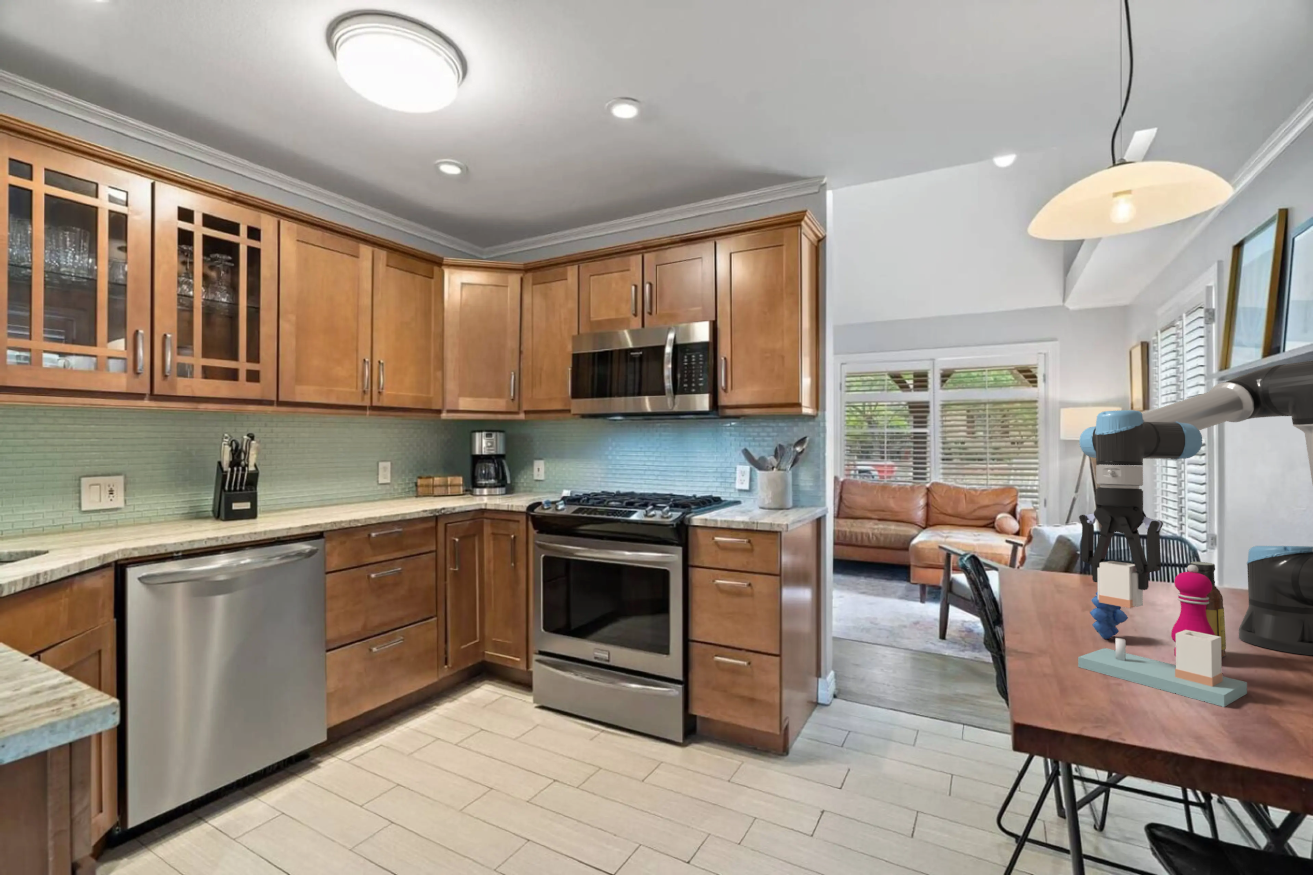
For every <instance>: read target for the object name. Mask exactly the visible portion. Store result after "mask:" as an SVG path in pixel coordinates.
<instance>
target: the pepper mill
mask: <svg viewBox="0 0 1313 875" xmlns="http://www.w3.org/2000/svg"><path fill="white" fill-rule="evenodd" d="M1197 572H1198V567H1197V566H1195V565H1190V564H1188V566H1187V571H1183V572H1180V573H1178V574H1177V575H1176V576H1175V578H1174V582H1173V583H1174V587H1175V588H1176V589H1177V590H1178V592H1179V593H1177V600H1178V601H1179V602H1180V613H1179V616H1178V618H1177V620H1176V622H1175V623H1174V624H1173V627H1172V630H1171V633H1170V638H1171V640H1172V641H1173V642H1174V643H1175V644H1176V633H1178V632H1181V631H1184V630H1190V631H1195V632H1200V633H1205V634H1210V635H1215V633H1214V631H1213V629H1212V628H1211V626H1210V624H1209V622H1208V620H1207V616H1206V605H1207V604H1209V602H1208V601H1209V600H1208V599H1209V597H1207V595H1208V594H1209V593H1210V592H1211V590H1212V583H1211V581H1210V579H1209V578H1208V577H1206V576H1205V575H1203V574H1200V573H1197ZM1173 650H1174V656H1175V658H1176V646H1175V647H1174V649H1173Z"/></svg>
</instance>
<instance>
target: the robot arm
mask: <svg viewBox="0 0 1313 875" xmlns="http://www.w3.org/2000/svg"><path fill="white" fill-rule="evenodd" d="M1272 417H1291V421H1292V422H1291V423H1292V426H1293V427H1295V428H1296V429H1298V430H1300V431H1302V432H1303V433H1304V438H1305V445H1306V451H1307V457H1308V458H1307V459H1308V463H1309V470H1310V475H1311V477H1310V478H1311V483H1312V485H1313V360H1306V361H1299V362H1293V363H1285V364H1275V365H1271V366H1267V367H1264V368H1260V369H1258V370H1254V371H1251V372H1248V373H1246V374H1243V375H1240V376H1237V377H1234V378H1231V379H1229V380H1226V381H1223V382H1220V383H1217V384H1215V385H1214V386H1213V387H1211V389H1210V390H1209V391H1206V392H1203V393H1201V394H1198V395H1195V396H1192V397H1189V398H1188V397H1187V398H1186V399H1182V400H1179V401H1177V402H1174V403H1171V404H1168V405H1163V406H1162V407H1159V408H1156V409H1152V410H1150V411H1147V412H1143V413H1142V412H1141V411H1139V410H1132V409H1131V410H1128V409H1126V410H1125V409H1124V410H1123V409H1121V410H1119V409H1117V410H1105V411H1101V412H1099V413H1098V414H1097V416H1096V420H1095V421H1096V422H1095V426H1090V427H1087V428H1085V429H1084V430H1083V431H1082V433H1081V434H1080V437H1079V441H1078V442H1079V447H1080V450H1081V451H1082V453H1083V454H1084V455H1085V456H1087V457H1089V458H1094V459H1095V461H1096V462H1095V463H1096V465H1095V467H1096V468H1095V469H1096V470H1095V473H1096V474H1095V476H1096V477H1095V478H1096V479H1095V481H1096V482H1095V483H1096V484H1097V485H1099V487H1097V488H1096V489H1095V502H1096V507H1095V510H1094V511H1093V513H1089V514H1080V515H1079V516H1078V518H1079V522H1080V525H1081V562H1083V563H1086V564H1089V565H1090V566H1091V568H1092V570H1091V571H1092V573H1091V574H1092V576H1091V577H1092V582H1093V583H1097V591H1098V600H1099V595H1100V563H1101V562H1105V561H1106V557H1107V553H1108V552H1109V547H1110V544H1111V541H1112V538H1113V537H1114V535H1115V533H1119V534H1124V537H1125V539H1126V542H1127V544H1128V548H1129V550H1130V553H1131V556H1132V559H1133V562H1134V563H1133V564H1135V566H1136V569H1137V571H1136V572H1134V573H1132V600H1133V606H1135V607H1136V608H1138V607H1142V606H1144V597H1143V596H1144V595H1143V594H1144V593H1143V591H1146V590H1148V589H1149V584H1150V583H1149V575H1150V573H1155V572H1159V571H1161V568H1162V565H1161V564H1162V563H1161V538H1160V536H1161V531H1162V528H1163V526H1164V522H1163V521H1162V520H1160V519H1159V520H1155V519H1153V518H1150V517H1147V515H1146V514H1145V511H1144V490H1142V488H1140V487H1142V486H1144V460H1145V459H1146V460H1147V459H1150V460H1151V459H1152V460H1153V459H1154V460H1155V459H1157V460H1159V459H1161V460H1162V459H1164V460H1165V459H1167V460H1177V461H1178V460H1180V459H1181V460H1182V459H1184V460H1185V459H1189V458H1193V457H1194V456H1196V455H1197V454H1198V453H1199V452H1200V451H1201V448H1202V446H1203V436H1202V433H1201V430H1202V431H1203V430H1204V429H1208V428H1211V427H1214V426H1217V425H1220V424H1223V423H1225V422H1228V423H1239V422H1243V421H1246V420H1250V419H1258V418H1272ZM1096 521H1097V522H1098V523H1099V524H1100V526H1101V528H1100V531H1099V538H1098V541H1097V544H1096V547H1095V548H1094V546H1095V542H1094V541H1095V540H1094V539H1095V525H1094V524H1095V523H1096ZM1143 524H1144V527H1145V529H1146V543H1147V544H1146V545H1147V546H1146V547H1147V559H1146V555H1145V552H1144V548H1143V546H1142V542H1141V539H1140V533H1139V530H1138V529H1139V527H1141V526H1142V525H1143ZM1094 549H1095V550H1094ZM1246 565H1247V567H1246V568H1247V587H1248V588H1247V589H1248V590H1247V593H1248V595H1247V596H1248V608H1247V610H1246V612H1245V614H1244V616H1243V618H1242V620H1241V623H1240V625H1239V628H1238V639H1239V640H1241V641H1242V642H1245V643H1247V644H1250V645H1254V646H1258V647H1261V648H1265V649H1270V650H1275V651H1280V652H1285V653H1290V654H1298V655H1306V656H1313V546H1312V545H1310V546H1308V545H1305V546H1304V545H1302V546H1301V545H1255V546H1252V547H1250V548H1249V550H1248V554H1247V562H1246ZM1135 607H1134V608H1135Z"/></svg>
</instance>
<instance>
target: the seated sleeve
mask: <svg viewBox="0 0 1313 875" xmlns="http://www.w3.org/2000/svg"><path fill="white" fill-rule="evenodd" d="M1175 647H1176V657H1175V665H1176V669H1175V677H1177V678H1181V679H1185V680H1189V681H1192V682H1196V683H1200V684H1204V685H1208V686H1212V687H1213V686H1215V685H1216V684H1218V683H1220V682H1222V681H1223V677H1224V676H1223V675H1224V674H1223V672H1222V657H1221V637H1220V636H1215V635H1210V634H1205V633H1200V632H1195V631H1190V630H1184V631H1181V632H1178V633H1176V643H1175Z"/></svg>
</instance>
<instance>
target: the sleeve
mask: <svg viewBox="0 0 1313 875" xmlns="http://www.w3.org/2000/svg"><path fill="white" fill-rule="evenodd" d="M1136 571H1137V569H1136V566H1135V563H1129V562H1121V561H1115V560H1107V561H1104V562H1101V563H1100V595H1099V602H1100V603H1105V604H1111V605H1116V606H1120V607H1121V608H1122V607H1123V608H1128V609H1133V608H1135V606H1133V600H1132V573H1134V572H1136Z"/></svg>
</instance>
